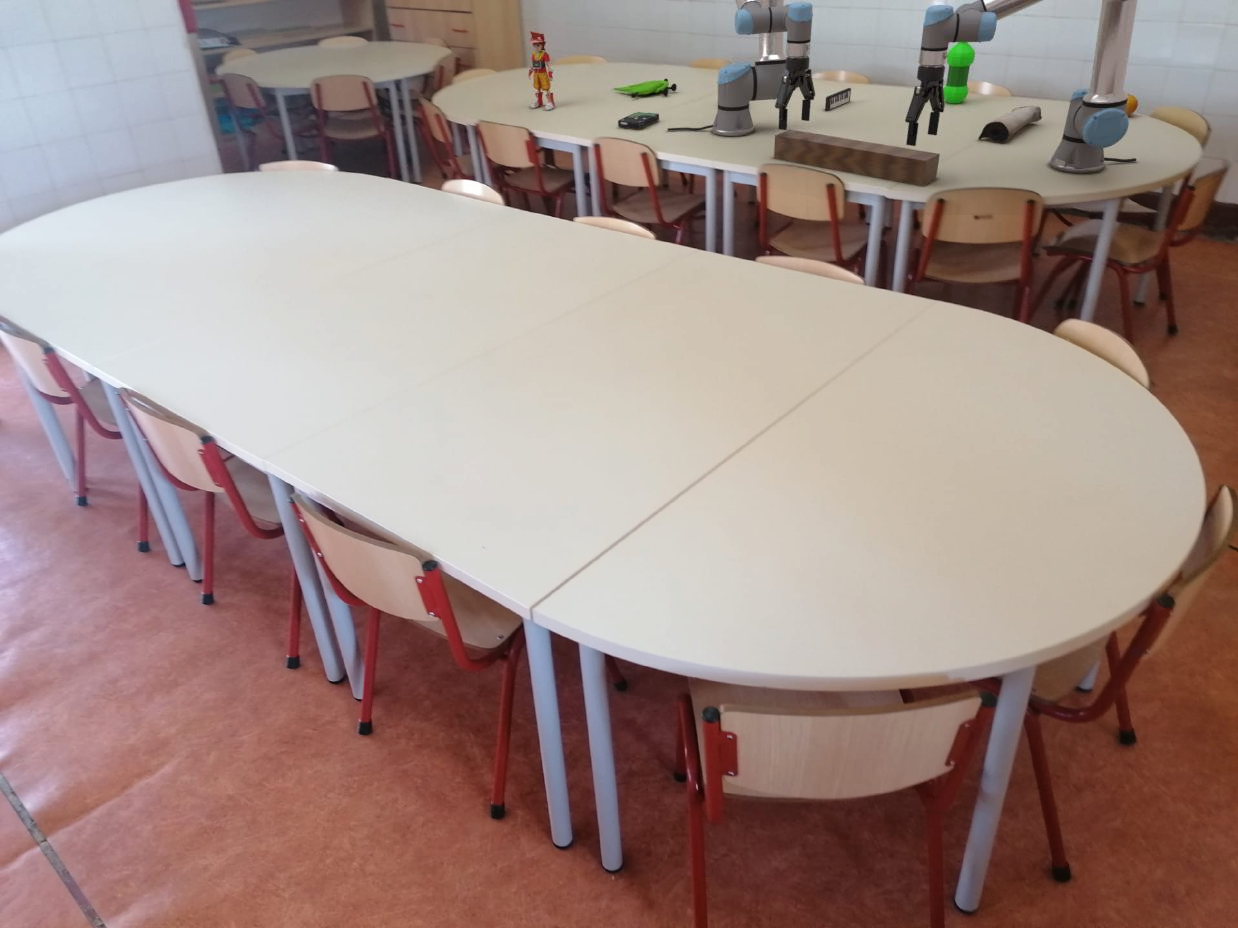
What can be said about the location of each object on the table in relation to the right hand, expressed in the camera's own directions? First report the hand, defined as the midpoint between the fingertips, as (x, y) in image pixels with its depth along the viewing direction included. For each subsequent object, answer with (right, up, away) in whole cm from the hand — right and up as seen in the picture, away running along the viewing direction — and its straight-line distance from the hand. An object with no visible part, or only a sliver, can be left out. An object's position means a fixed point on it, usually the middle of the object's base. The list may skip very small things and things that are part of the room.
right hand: (921, 140), depth 273 cm
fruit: (+92, +29, +54) cm, 110 cm away
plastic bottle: (+41, +45, +82) cm, 102 cm away
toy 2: (-83, +66, +124) cm, 163 cm away
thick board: (-16, -2, +20) cm, 26 cm away
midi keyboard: (-4, +45, +87) cm, 98 cm away
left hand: (-34, +15, +27) cm, 46 cm away
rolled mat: (+46, +19, +44) cm, 67 cm away
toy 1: (-125, +54, +110) cm, 175 cm away
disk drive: (-84, +35, +79) cm, 121 cm away
